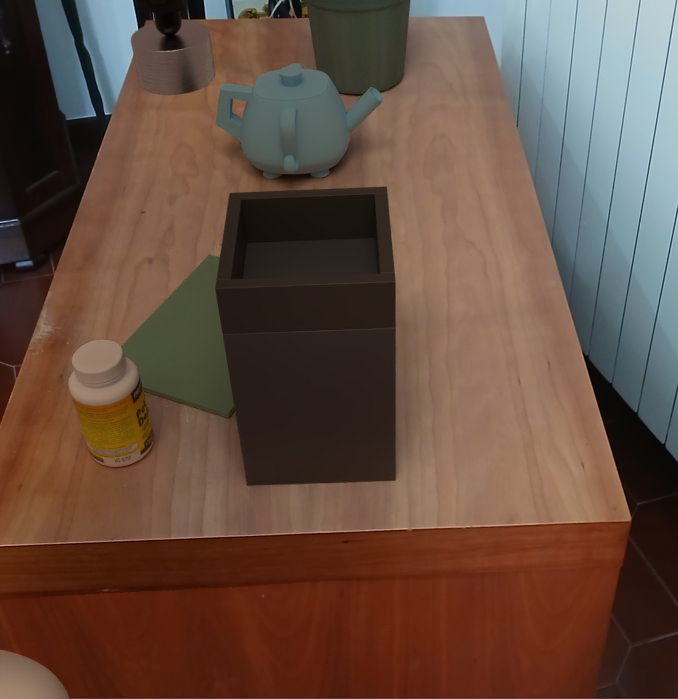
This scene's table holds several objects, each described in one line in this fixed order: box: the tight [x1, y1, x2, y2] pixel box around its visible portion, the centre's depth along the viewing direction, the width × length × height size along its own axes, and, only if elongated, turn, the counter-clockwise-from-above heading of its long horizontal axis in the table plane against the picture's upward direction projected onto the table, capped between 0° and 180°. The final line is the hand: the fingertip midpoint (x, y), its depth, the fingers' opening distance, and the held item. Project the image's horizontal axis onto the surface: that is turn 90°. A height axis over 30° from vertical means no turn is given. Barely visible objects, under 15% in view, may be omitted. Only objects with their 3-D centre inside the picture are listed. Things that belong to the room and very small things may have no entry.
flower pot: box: [305, 0, 411, 95], centre depth 125 cm, size 16×16×16 cm
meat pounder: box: [130, 11, 217, 96], centre depth 69 cm, size 6×6×12 cm
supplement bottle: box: [67, 339, 155, 468], centre depth 75 cm, size 6×6×10 cm
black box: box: [215, 186, 397, 486], centre depth 72 cm, size 12×12×20 cm
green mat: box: [120, 254, 235, 419], centre depth 89 cm, size 20×14×1 cm
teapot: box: [215, 62, 385, 179], centre depth 109 cm, size 20×17×12 cm
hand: (164, 1), depth 68 cm, fingers closed on meat pounder
